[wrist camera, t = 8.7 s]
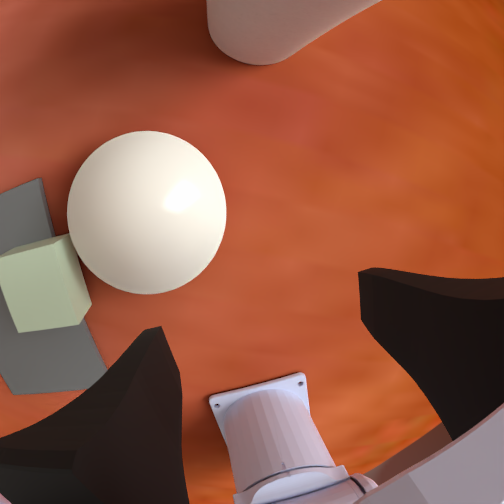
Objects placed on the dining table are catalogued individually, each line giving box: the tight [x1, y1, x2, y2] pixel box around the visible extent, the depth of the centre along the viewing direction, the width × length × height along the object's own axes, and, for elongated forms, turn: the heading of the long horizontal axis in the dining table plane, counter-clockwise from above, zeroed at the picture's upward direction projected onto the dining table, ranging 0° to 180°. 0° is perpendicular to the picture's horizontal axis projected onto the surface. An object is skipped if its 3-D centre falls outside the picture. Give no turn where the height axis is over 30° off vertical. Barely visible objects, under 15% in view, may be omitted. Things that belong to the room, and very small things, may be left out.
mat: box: [0, 178, 107, 395], centre depth 18 cm, size 16×11×1 cm
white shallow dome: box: [67, 131, 226, 294], centre depth 17 cm, size 9×9×3 cm
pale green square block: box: [0, 233, 92, 333], centre depth 17 cm, size 5×5×3 cm
